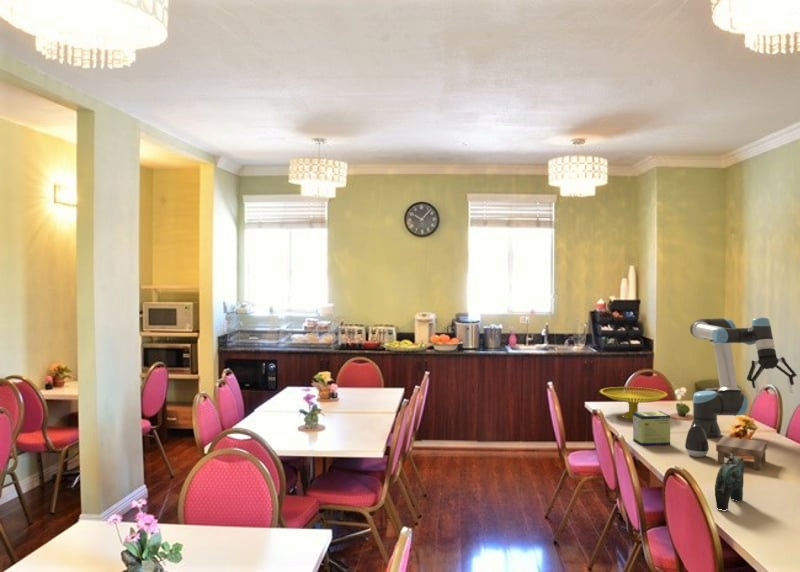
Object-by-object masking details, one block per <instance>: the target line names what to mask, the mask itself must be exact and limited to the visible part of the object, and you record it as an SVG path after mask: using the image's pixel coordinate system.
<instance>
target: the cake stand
mask: <svg viewBox="0 0 800 572" xmlns="http://www.w3.org/2000/svg"><path fill="white" fill-rule="evenodd" d="M598 392H599V393H600V394H602V395H604V396H606V397H607V398H609V399H611V400H614V401H618V402H626V403H627V404H628V411H627V412H625V413H622V414H621V417H622V416H624V417H623V418H625V417H628V418H627V419H631V418H633V412H639V410H638V407H639V406H638V405H639V403H642V404H646V403H647V404H648V403H653V402H657V401H659V400H661V399H664V398H666V397H668V396H669V393H668V392H666V391H662V390H658V389H654V388H646V387H637V386H617V387H616V386H615V387H614V386H613V387H604V388H602V389H600V390H598Z"/></svg>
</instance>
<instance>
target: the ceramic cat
mask: <svg viewBox="0 0 800 572" xmlns="http://www.w3.org/2000/svg"><path fill="white" fill-rule="evenodd" d="M731 452H732V451H729V453H728V455H730V457H727V460H726V462H725V463H724V464H723V465H721V467H720V468H719V469H718V472H717V474H716V478H715V484H714V496H715V502H716V509H717V508H718V509H722V510H726V509H728V510H729V503H730V500H731V499H734V500H737V501H740V502H741V501H743V498H744V497H743V496H744V477H745V476H744V472H745V460H744V458H743V457H740V456H738V454H735V453H733V452H732V453H731ZM731 454H732V455H731ZM737 501H736V502H737Z"/></svg>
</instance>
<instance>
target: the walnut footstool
mask: <svg viewBox="0 0 800 572" xmlns="http://www.w3.org/2000/svg"><path fill="white" fill-rule="evenodd" d="M767 443H768V442H767V441H762V440H754V439H748V438H747V439H746V438H741V439H739V437H732V436H726V435H725V436H723V435H722V437H721V438H720V439H719V440H718V441H717V443H716V444H715V452H717V464H718V465H721V466H722V465H723V464H724V463H726V462H725V461H726V460H725V458H728V457H730V456H731V454H732V452H733V453H735V454H736V455H741V456H747V457H753V464H754V465H753V466H754V467H753V470H754V471H758V472H759V471H760V472H761V471H762V463H766V461H767V460H766V451H767V448H768V444H767ZM729 451H732V452H731V453H730V455H728V453H729Z"/></svg>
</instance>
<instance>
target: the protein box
mask: <svg viewBox="0 0 800 572" xmlns="http://www.w3.org/2000/svg"><path fill="white" fill-rule="evenodd" d="M632 429H633V430H632V437H633V438H632V441H633V442H635V443H636V444H638V445H640V446H642V447H643V446H644V447H645V446H646V447H647V446H648V447H649V446H651V447H653V446H654V447H655V446H671V415H670V414H667V413H665V412H663V411H662V410H661V411H660V410H655V411H638V412H633V419H632Z"/></svg>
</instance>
